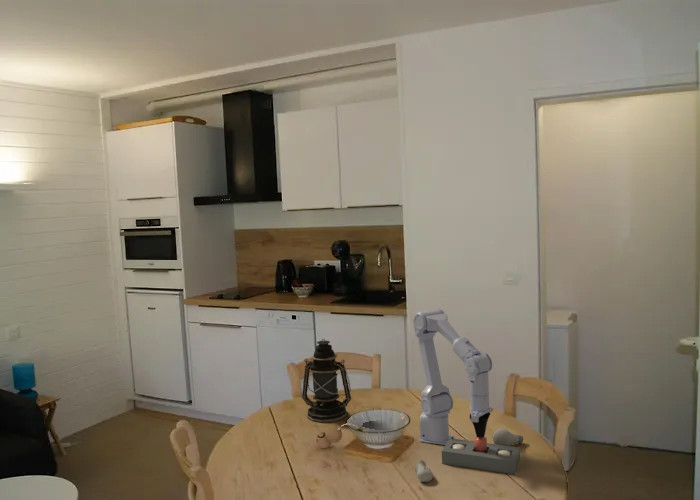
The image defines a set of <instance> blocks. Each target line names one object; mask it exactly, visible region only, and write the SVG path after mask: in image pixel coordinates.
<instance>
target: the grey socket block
mask: <svg viewBox="0 0 700 500" xmlns="http://www.w3.org/2000/svg"><path fill="white" fill-rule="evenodd" d="M455 444H461V445H464V450H460V449H453V445H455ZM500 450H507V451H509V452H510V456H504V455H498V451H500ZM521 460H522V459H521V447H519V446H512V445H510V446H505V445H497V444H495V443H488V442H487V451H486V452H477V451H475V440H466V439H457V438H450V439H449V441H448V442H447V444H446V445H444V446H443V448H442V450H441V464H444V465H449V466H457V467H462V468H463V467H464V468H468V469H469V468H470V469H478V470H483V471H488V472H489V471H490V472H495V473H496V472H498V473H503V474H509V475H516V474H517V471H518V468H519V466H520V463H521Z"/></svg>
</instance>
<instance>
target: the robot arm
mask: <svg viewBox="0 0 700 500" xmlns="http://www.w3.org/2000/svg"><path fill="white" fill-rule="evenodd" d="M448 318H449V317H448V315H447V313H445V311H444V310H443V309H441V308H437V309H433V310H432V309H431V310H426V311H418V312H416V313H415V315H414V316H413V318H412V323H413V328H414V334H415V337H416V339H417V345H418V350H419V354H420V359H421V366H422V370H423V375H424V382H425V388H424V389H423V390H422V391H421V393H420V397H421V402H420V407H421V410H422V412H421V414H420V417H419V442H420V443H427V444H435V445H436V444H437V445H442V446H445V445H446V444H447V442H448V441H449V439H450V438H451V439H453V436H454V435H453V434H450V427H449V426H450V425H449V423H450V422H449V419H450V418H449V414H451V411H452V409H453V407H454V400H453V396H452V395H451V393H450V389H449V387H447V385H444V384H443V383H442V376H441V371H440V367H439V363H438V361H439V360H438V357H437V352H436V346H435V342H434V337H435V336H436V334H437V333H439V334H441V335H442V336H443V337H444V338H445V339H446V340H447V341H448V342H449V343H450V344H451V345H452V351H453V352H454V353H455V354H456V355H457V356H458V357H459V359H460V360H461V361H462V362H463V363H464V369H465V371H466V374H467V378H468V381H469V384H468V385H469V411H470V414H469V419H470V421H471V422H472V425H473V427H474V432H475V434H476V435H475V437H476V436H477V437H479V438H484V437H486V431H487V424H488V421H489V418H490V416H491V413H493V412H494V407H491V406H490V386H489V372H490V371H491V370H492V368H493V361H492V358H491V357H490V355H489V354H488V353H487V352H483V351H480V350H478V349H477V347H475V345H474V344H472V342H471V341H470V339H469V338H466V337H461V336H460V334H458V332H457V330H455V328H454V327H453V325H451V323H450V322H449V319H448Z"/></svg>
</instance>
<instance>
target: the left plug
mask: <svg viewBox="0 0 700 500" xmlns="http://www.w3.org/2000/svg"><path fill="white" fill-rule="evenodd" d="M453 449H460V450H464V445H461V444H455V445H453Z"/></svg>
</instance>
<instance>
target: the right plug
mask: <svg viewBox="0 0 700 500" xmlns="http://www.w3.org/2000/svg"><path fill="white" fill-rule="evenodd" d="M498 455H504V456H510V452H509V451H507V450H500V451H498Z"/></svg>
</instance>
